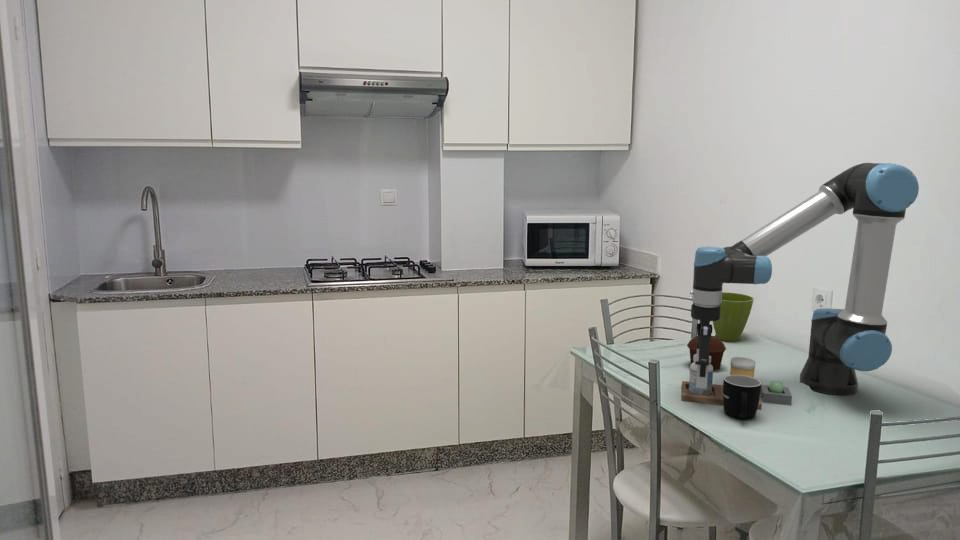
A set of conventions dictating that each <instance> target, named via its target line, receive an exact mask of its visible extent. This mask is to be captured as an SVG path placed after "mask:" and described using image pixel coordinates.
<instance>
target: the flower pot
mask: <svg viewBox="0 0 960 540" xmlns="http://www.w3.org/2000/svg"><path fill="white" fill-rule="evenodd" d="M753 303H754V298H753V297H752V296H751V295H747V294H744V293H743V294H742V293H737V292H726V291H725V292H723V291H722V302H721V304H720V305H719V306H720V307H721V311H720V319H719V320H717V321H712V327H713V329H714V333H715V337H716V338H718V339H719V340H720V341H722V342H726V343H727V342H728V343H733V342H734V343H736V342H738V341H739V340H740V338H741V336H742V334H743V332H744V331H745V328H746V325H747V323H748V320H749V317H750V314H751V311H752V307H753Z"/></svg>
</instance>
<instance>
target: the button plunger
mask: <svg viewBox="0 0 960 540" xmlns="http://www.w3.org/2000/svg"><path fill="white" fill-rule="evenodd" d="M769 385H770V387H769V392H774V393H783V387H785V386H784V385H785V384H784V383H783V382H782V381H781V382H780V381H778V380H772V381H770V382H769Z"/></svg>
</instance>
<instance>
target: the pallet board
mask: <svg viewBox="0 0 960 540" xmlns="http://www.w3.org/2000/svg"><path fill="white" fill-rule="evenodd" d="M680 399H681V402H689V403H696V404H697V403H699V404H705V405H706V404H707V405H714V406H715V405H716V406H723V407H724V404H723V384H717V383H716V384H715V383H712V395H711V396H708V395H699V394H690V393H689V380H687V381H686V380H681V398H680ZM762 406H763V402H762V399H761V398H760V399H759V404H758V408H757V411H762Z"/></svg>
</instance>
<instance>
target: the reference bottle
mask: <svg viewBox="0 0 960 540" xmlns="http://www.w3.org/2000/svg"><path fill="white" fill-rule="evenodd" d="M729 365H730V370H729V371H730V372H729V375H745V376H750V377H753V378H755V369H756V360H754V359H752V358H749V357H743V356H742V357H741V356H736V357H731V359H730V363H729Z"/></svg>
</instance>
